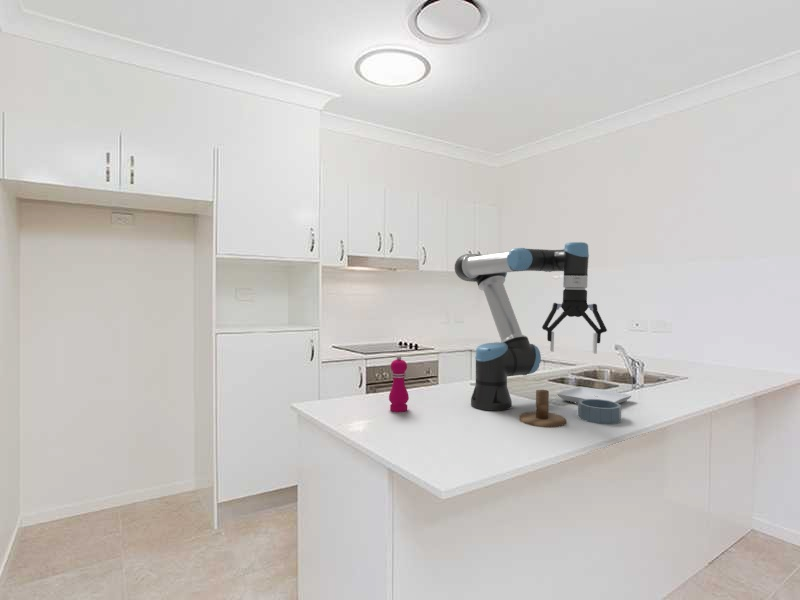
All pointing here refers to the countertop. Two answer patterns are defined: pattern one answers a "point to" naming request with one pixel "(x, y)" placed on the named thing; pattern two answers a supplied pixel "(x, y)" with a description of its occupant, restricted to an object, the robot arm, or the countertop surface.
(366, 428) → the countertop surface
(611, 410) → the bowl
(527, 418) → the lid
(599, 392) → the salad plate
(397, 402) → the pepper mill
